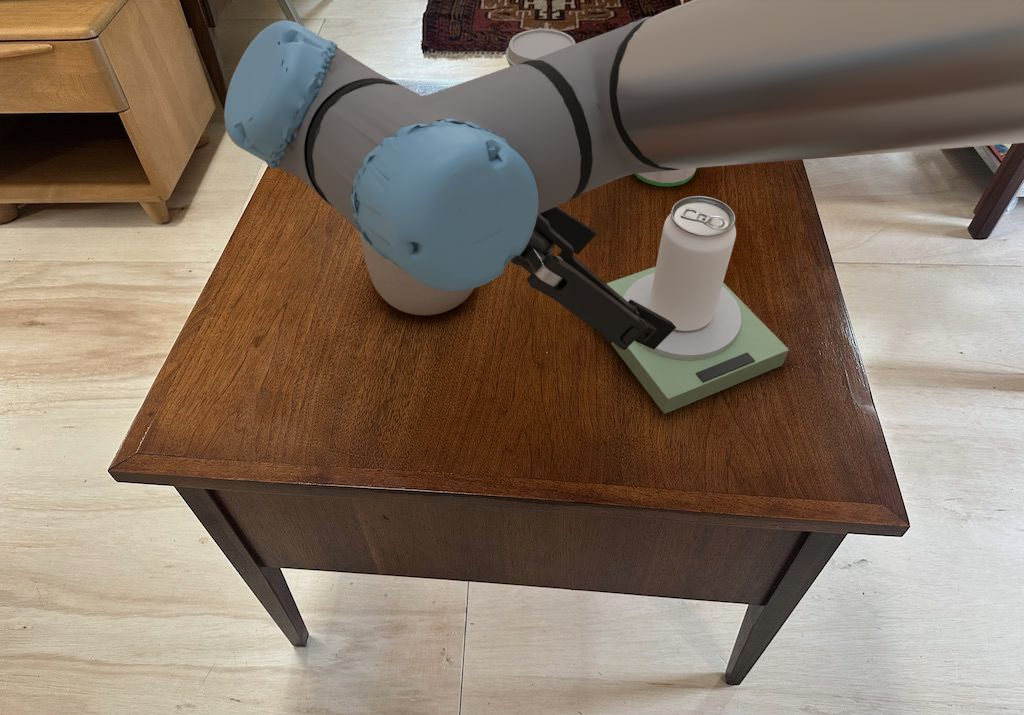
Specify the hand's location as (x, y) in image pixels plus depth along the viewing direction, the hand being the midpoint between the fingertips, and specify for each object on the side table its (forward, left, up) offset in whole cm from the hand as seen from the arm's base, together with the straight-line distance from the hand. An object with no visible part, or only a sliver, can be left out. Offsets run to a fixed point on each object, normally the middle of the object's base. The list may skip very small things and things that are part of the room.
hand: (621, 286), depth 64 cm
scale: (0, -8, -10) cm, 13 cm away
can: (0, -8, -7) cm, 11 cm away
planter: (+18, +13, -10) cm, 24 cm away
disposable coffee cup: (+42, -13, -10) cm, 45 cm away
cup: (+26, -23, -10) cm, 36 cm away
